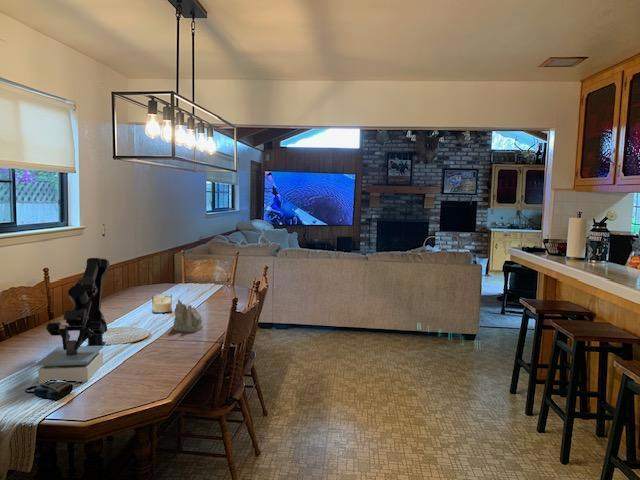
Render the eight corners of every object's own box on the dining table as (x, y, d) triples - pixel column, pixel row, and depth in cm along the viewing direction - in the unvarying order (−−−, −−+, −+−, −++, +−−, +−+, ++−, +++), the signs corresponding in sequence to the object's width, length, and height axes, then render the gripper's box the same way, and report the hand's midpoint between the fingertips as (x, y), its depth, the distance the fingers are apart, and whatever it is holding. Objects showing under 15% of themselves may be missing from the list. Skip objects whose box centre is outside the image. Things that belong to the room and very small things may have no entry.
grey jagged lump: (193, 333, 212) (193, 301, 211) (166, 329, 218) (166, 299, 217) (212, 326, 226) (212, 297, 226) (186, 323, 232) (186, 295, 232)
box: (58, 365, 170) (58, 353, 169) (103, 364, 172) (102, 351, 172) (38, 383, 154) (38, 369, 153) (87, 381, 156) (87, 367, 156)
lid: (58, 351, 169) (57, 335, 168) (102, 350, 171) (102, 334, 171) (38, 367, 153) (37, 350, 153) (87, 366, 156) (86, 348, 155)
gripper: (47, 301, 163) (33, 340, 153) (100, 300, 165) (91, 338, 156) (57, 316, 171) (45, 354, 162) (108, 315, 174) (99, 352, 164)
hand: (70, 349), depth 161 cm, fingers closed on lid, 4 cm apart
